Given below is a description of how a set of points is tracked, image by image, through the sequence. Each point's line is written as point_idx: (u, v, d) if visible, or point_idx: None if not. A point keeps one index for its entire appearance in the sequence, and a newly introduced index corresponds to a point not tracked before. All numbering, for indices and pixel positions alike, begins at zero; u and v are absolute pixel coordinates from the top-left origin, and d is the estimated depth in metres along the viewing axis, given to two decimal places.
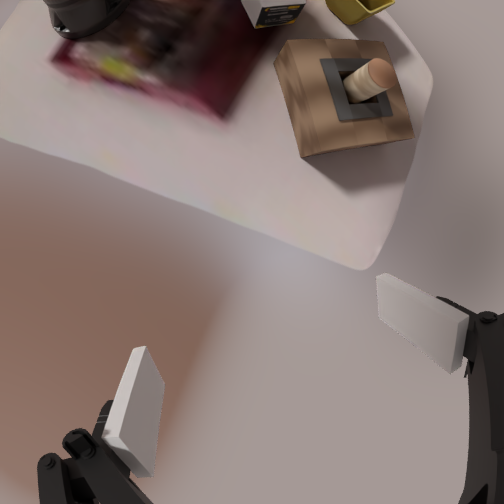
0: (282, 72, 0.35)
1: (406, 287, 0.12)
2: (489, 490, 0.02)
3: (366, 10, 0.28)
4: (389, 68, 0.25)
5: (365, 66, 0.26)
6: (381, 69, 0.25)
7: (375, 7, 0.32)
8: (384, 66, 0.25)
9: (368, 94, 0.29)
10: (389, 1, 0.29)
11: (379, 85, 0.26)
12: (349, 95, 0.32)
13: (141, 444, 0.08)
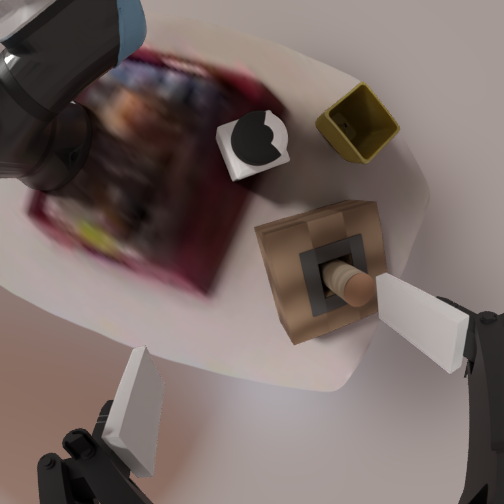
0: (262, 248, 0.40)
1: (406, 287, 0.12)
2: (489, 490, 0.02)
3: (362, 160, 0.34)
4: (369, 280, 0.31)
5: (342, 283, 0.31)
6: (358, 287, 0.31)
7: (375, 127, 0.37)
8: (363, 281, 0.30)
9: None
10: (393, 127, 0.34)
11: (352, 305, 0.31)
12: None
13: (141, 444, 0.08)
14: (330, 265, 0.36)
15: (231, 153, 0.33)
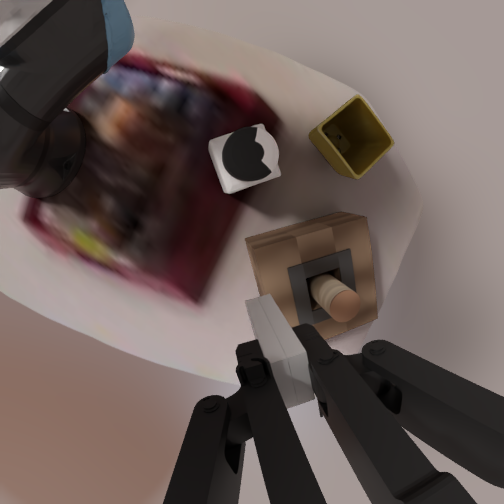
0: (252, 260, 0.41)
1: (273, 311, 0.14)
2: None
3: (354, 175, 0.34)
4: (355, 297, 0.31)
5: (329, 299, 0.32)
6: (344, 303, 0.31)
7: (369, 140, 0.38)
8: (349, 298, 0.31)
9: None
10: (387, 141, 0.35)
11: (338, 321, 0.32)
12: None
13: None
14: (318, 279, 0.37)
15: (222, 167, 0.33)
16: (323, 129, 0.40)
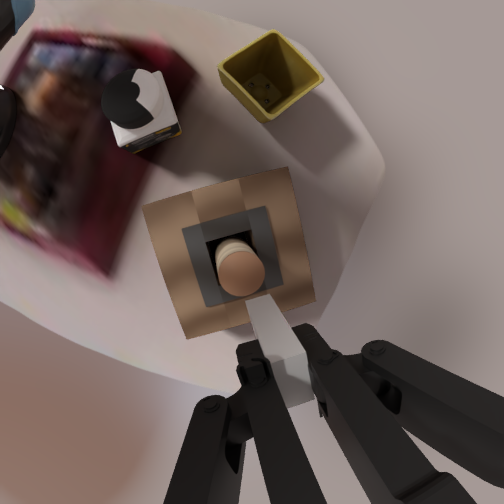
0: None
1: (273, 311, 0.14)
2: None
3: (265, 115, 0.27)
4: (255, 262, 0.25)
5: (219, 264, 0.25)
6: (239, 270, 0.24)
7: (300, 84, 0.31)
8: (245, 263, 0.24)
9: None
10: (315, 78, 0.28)
11: (234, 294, 0.25)
12: None
13: None
14: (222, 244, 0.30)
15: None
16: (247, 79, 0.33)
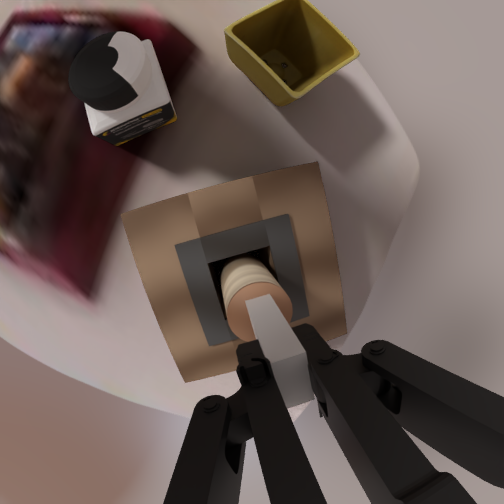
0: None
1: (273, 311, 0.14)
2: None
3: (289, 93, 0.20)
4: (280, 297, 0.17)
5: (228, 299, 0.17)
6: None
7: (326, 61, 0.23)
8: None
9: None
10: (349, 53, 0.20)
11: (248, 340, 0.17)
12: None
13: None
14: (230, 265, 0.22)
15: None
16: (259, 55, 0.25)
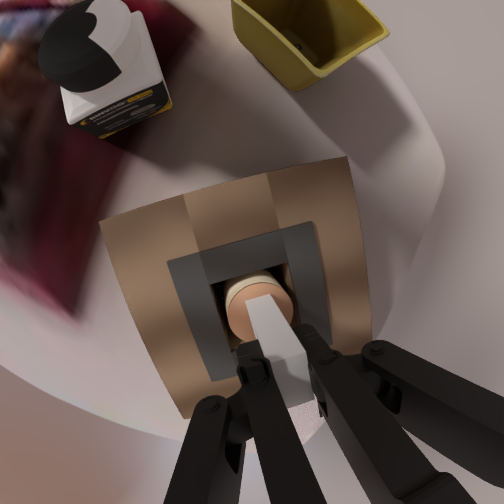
0: None
1: (273, 311, 0.14)
2: None
3: (311, 70, 0.15)
4: (280, 298, 0.17)
5: (228, 299, 0.17)
6: None
7: (348, 42, 0.19)
8: None
9: None
10: (377, 31, 0.15)
11: (249, 340, 0.17)
12: None
13: None
14: None
15: None
16: None
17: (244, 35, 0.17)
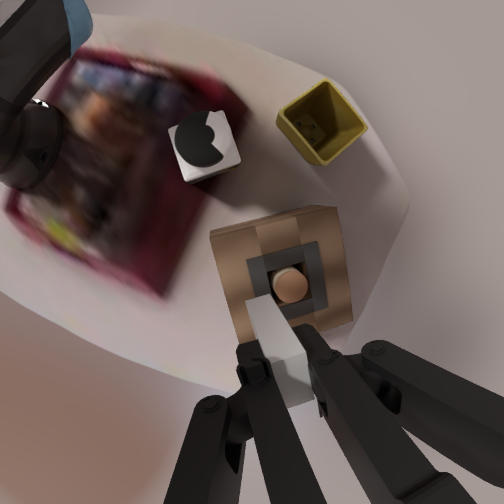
0: None
1: (272, 311, 0.14)
2: None
3: (320, 161, 0.32)
4: (301, 279, 0.34)
5: (275, 279, 0.35)
6: (290, 284, 0.34)
7: (343, 128, 0.36)
8: (295, 279, 0.34)
9: None
10: (360, 126, 0.33)
11: (285, 301, 0.35)
12: None
13: None
14: None
15: (179, 155, 0.32)
16: (295, 118, 0.39)
17: (282, 129, 0.35)
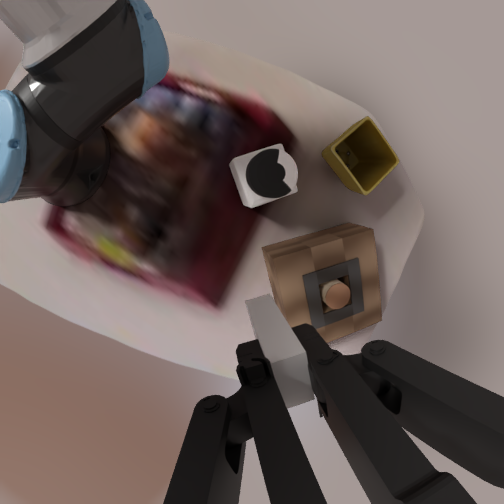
0: (268, 267, 0.45)
1: (272, 311, 0.14)
2: None
3: (362, 192, 0.38)
4: (346, 289, 0.40)
5: (325, 290, 0.41)
6: (337, 294, 0.40)
7: (376, 157, 0.42)
8: (341, 290, 0.40)
9: None
10: (393, 159, 0.38)
11: (332, 308, 0.41)
12: None
13: None
14: None
15: (245, 184, 0.37)
16: None
17: (329, 160, 0.40)
